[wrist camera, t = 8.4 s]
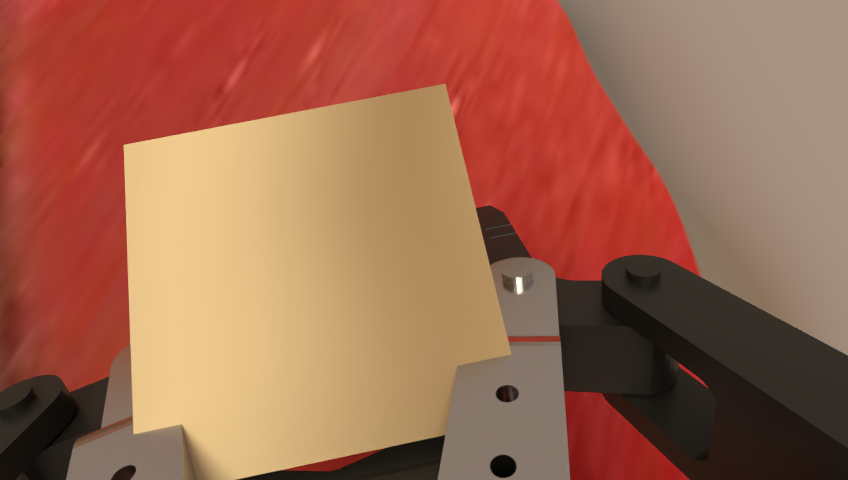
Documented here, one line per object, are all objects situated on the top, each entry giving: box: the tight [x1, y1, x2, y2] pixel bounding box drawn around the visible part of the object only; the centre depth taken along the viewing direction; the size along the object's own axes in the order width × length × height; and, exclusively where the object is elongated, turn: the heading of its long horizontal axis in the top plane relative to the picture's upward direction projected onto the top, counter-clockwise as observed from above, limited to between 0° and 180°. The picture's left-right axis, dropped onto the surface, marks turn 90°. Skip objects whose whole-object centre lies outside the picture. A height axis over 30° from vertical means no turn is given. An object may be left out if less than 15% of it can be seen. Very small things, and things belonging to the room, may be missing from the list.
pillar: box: [124, 84, 511, 480], centre depth 11 cm, size 4×4×10 cm
